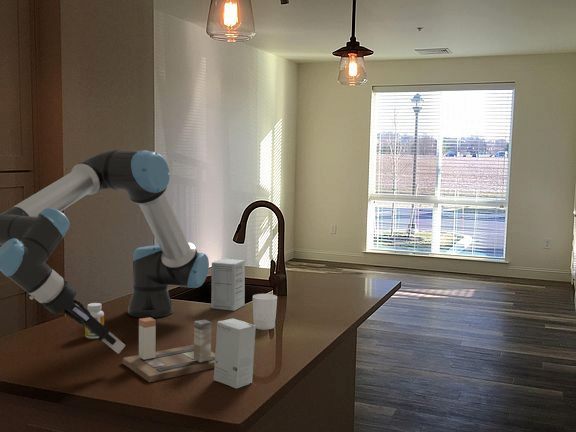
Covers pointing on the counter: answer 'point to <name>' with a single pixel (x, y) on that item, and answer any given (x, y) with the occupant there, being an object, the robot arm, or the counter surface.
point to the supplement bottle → (98, 315)
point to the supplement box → (228, 284)
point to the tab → (147, 338)
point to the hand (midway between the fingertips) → (120, 348)
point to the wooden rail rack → (177, 357)
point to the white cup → (264, 311)
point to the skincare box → (234, 352)
